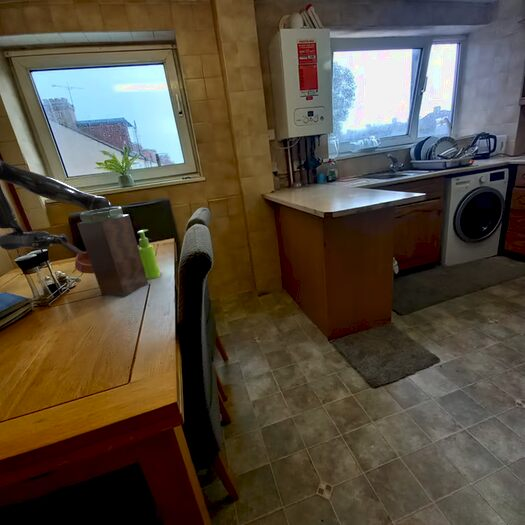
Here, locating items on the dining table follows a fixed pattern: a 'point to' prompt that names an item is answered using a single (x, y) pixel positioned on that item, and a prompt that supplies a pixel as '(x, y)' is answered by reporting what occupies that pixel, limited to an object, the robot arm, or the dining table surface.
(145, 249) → the soap dispenser
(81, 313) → the dining table surface
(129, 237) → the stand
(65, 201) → the robot arm
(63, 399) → the dining table surface
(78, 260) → the brown handled piece
